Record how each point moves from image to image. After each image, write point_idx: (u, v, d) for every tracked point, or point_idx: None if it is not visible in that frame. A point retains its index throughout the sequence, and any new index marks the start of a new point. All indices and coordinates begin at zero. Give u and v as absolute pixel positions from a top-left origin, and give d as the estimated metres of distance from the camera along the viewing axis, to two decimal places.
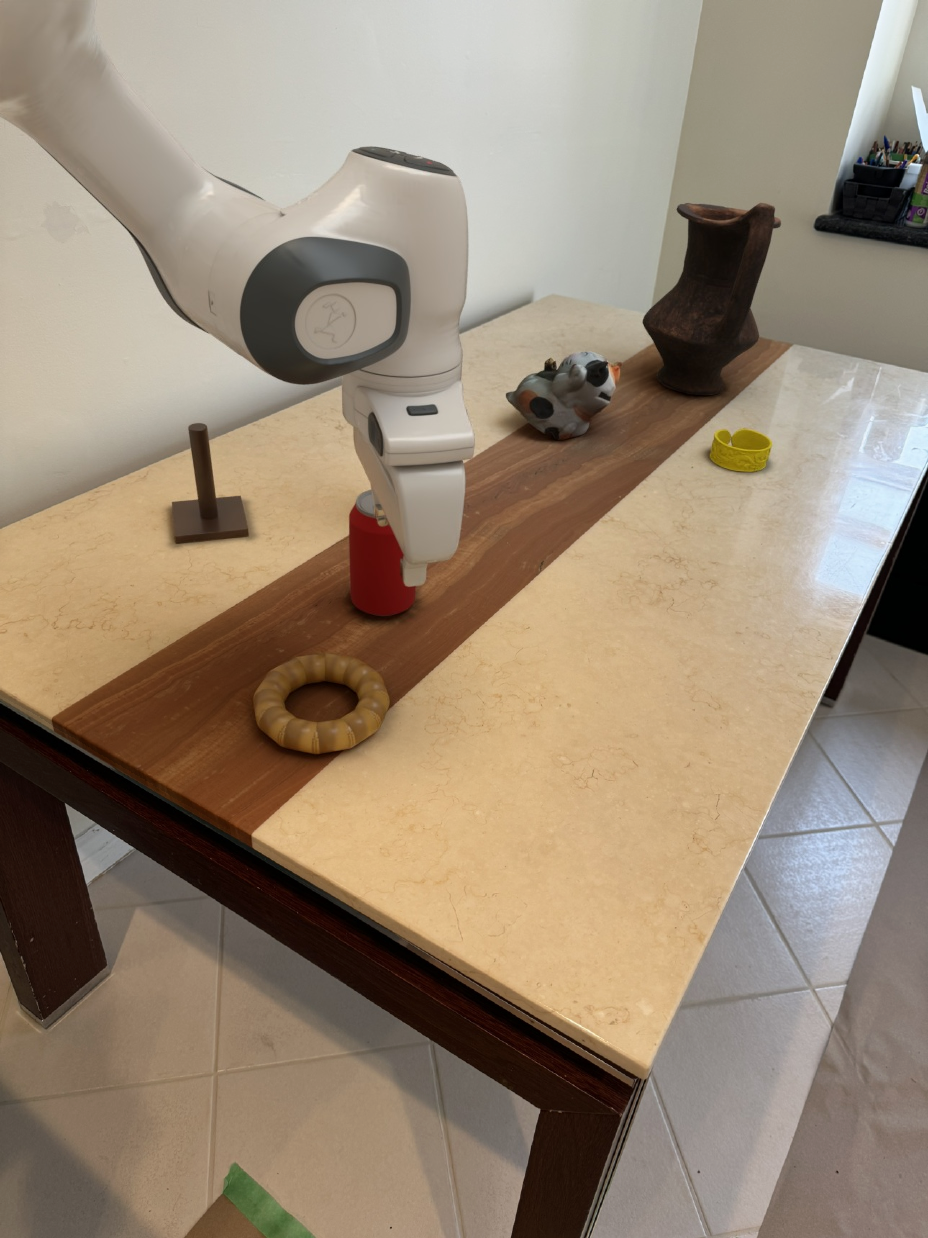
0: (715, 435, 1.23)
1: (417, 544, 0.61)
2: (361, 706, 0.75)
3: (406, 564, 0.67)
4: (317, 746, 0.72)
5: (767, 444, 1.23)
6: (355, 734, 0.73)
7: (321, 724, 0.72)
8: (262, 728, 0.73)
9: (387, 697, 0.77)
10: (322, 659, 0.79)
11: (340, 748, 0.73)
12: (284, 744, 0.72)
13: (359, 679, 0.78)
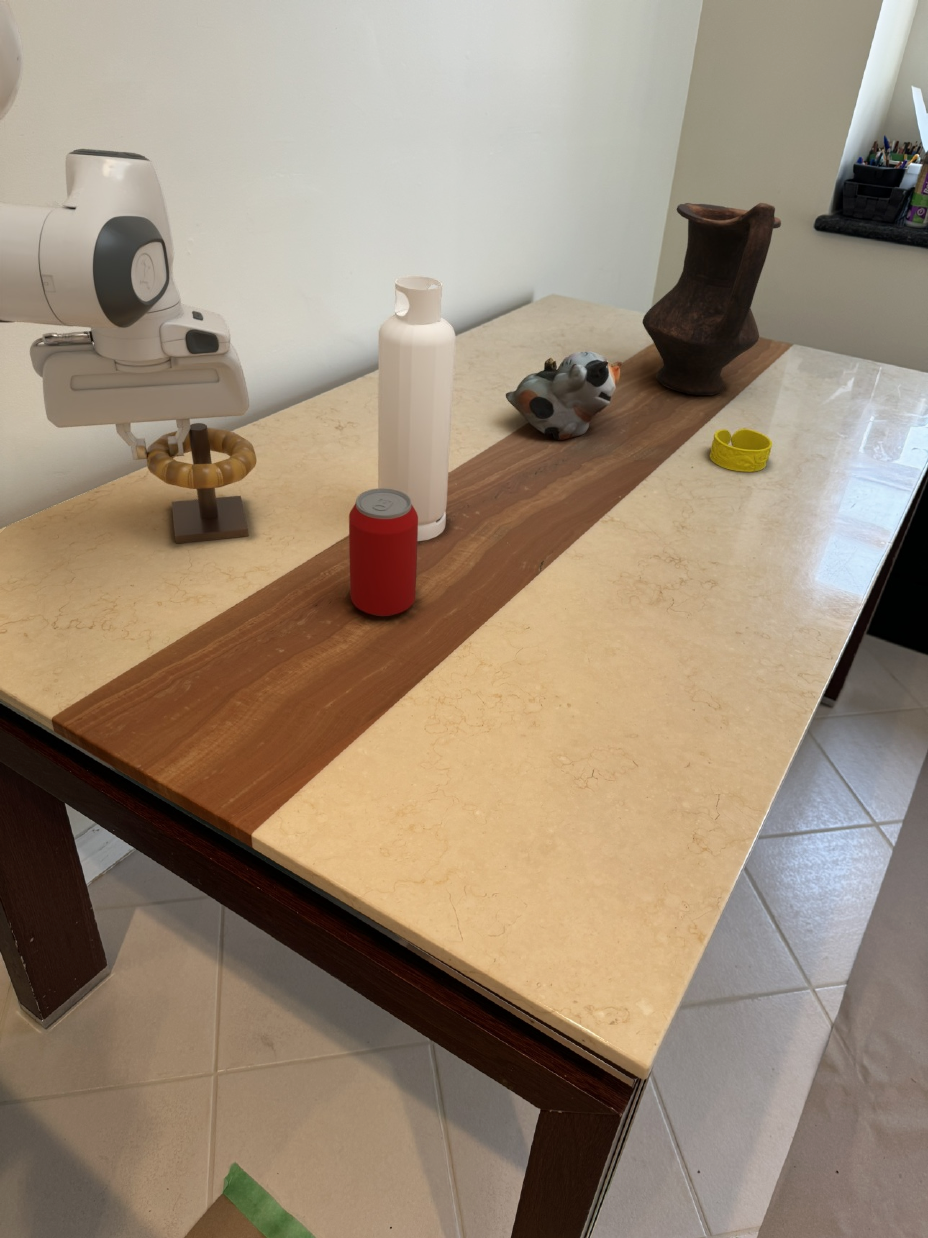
0: (715, 435, 1.23)
1: None
2: (231, 457, 0.95)
3: (186, 435, 0.94)
4: (192, 479, 0.92)
5: (767, 444, 1.23)
6: (222, 474, 0.93)
7: (196, 464, 0.93)
8: (151, 469, 0.94)
9: (254, 455, 0.97)
10: None
11: (211, 484, 0.93)
12: (166, 479, 0.93)
13: (233, 444, 0.98)
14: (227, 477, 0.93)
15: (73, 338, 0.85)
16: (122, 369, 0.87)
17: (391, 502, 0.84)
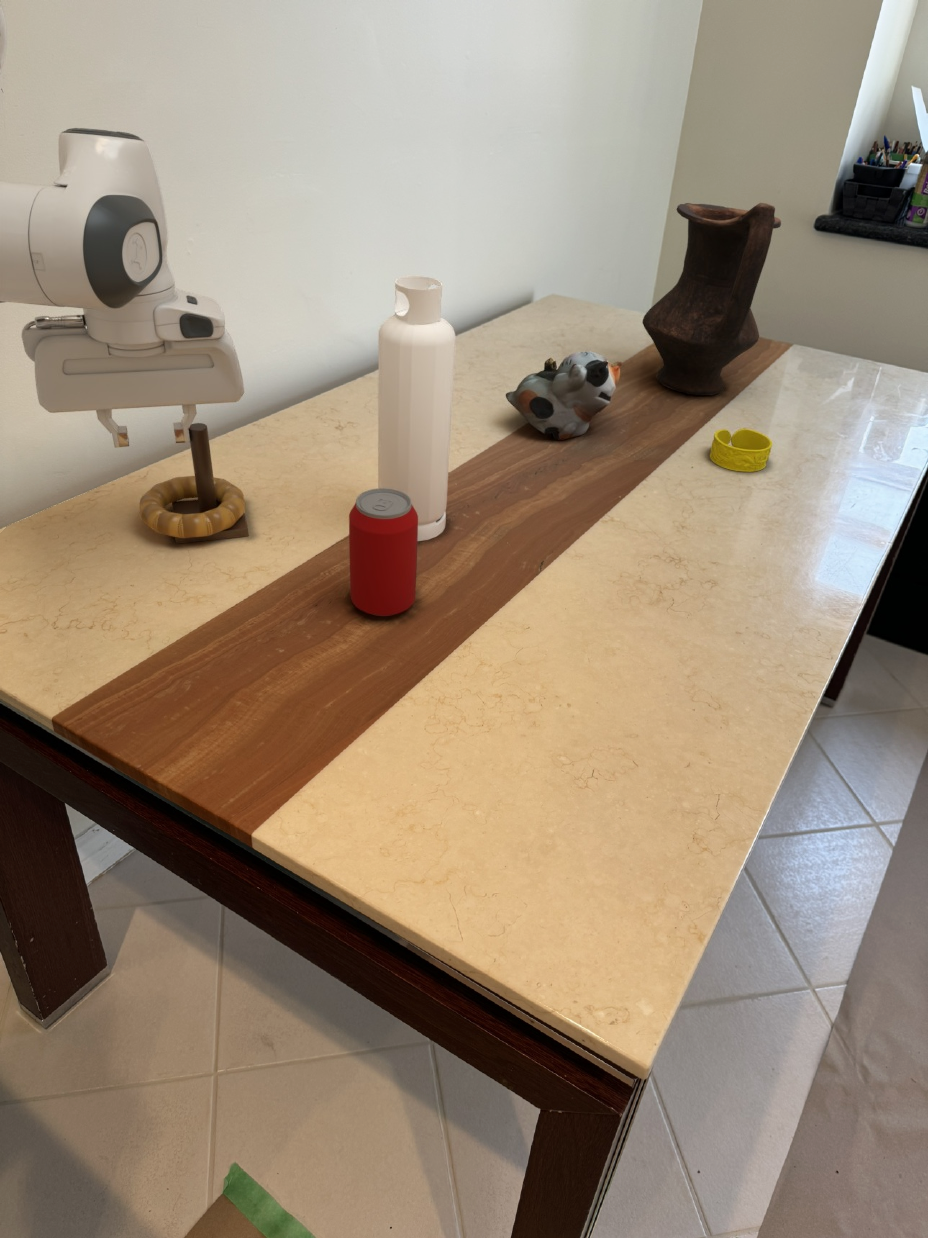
0: (715, 435, 1.23)
1: None
2: (220, 506, 0.98)
3: (192, 421, 0.93)
4: (182, 529, 0.95)
5: (767, 444, 1.23)
6: (211, 523, 0.96)
7: (186, 514, 0.96)
8: (143, 519, 0.97)
9: (242, 503, 1.00)
10: None
11: (200, 533, 0.96)
12: (158, 529, 0.96)
13: (223, 491, 1.01)
14: (216, 526, 0.97)
15: (66, 321, 0.84)
16: (115, 353, 0.86)
17: (391, 502, 0.84)
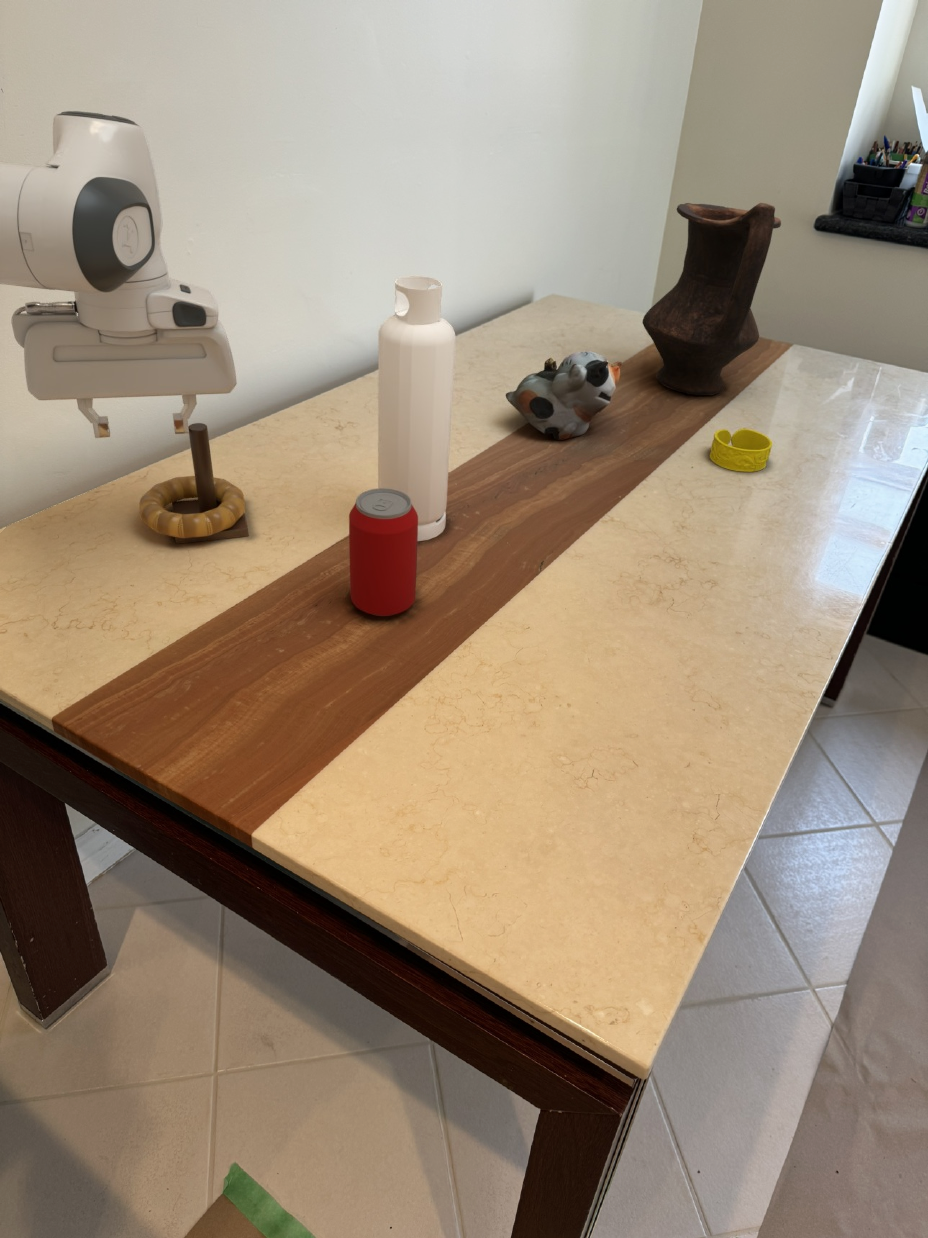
0: (715, 435, 1.23)
1: None
2: (220, 506, 0.98)
3: None
4: (182, 529, 0.95)
5: (767, 444, 1.23)
6: (211, 523, 0.96)
7: (186, 514, 0.96)
8: (143, 519, 0.97)
9: (242, 503, 1.00)
10: None
11: (200, 533, 0.96)
12: (158, 529, 0.96)
13: (223, 491, 1.01)
14: (216, 526, 0.97)
15: (57, 308, 0.83)
16: (106, 341, 0.85)
17: (391, 502, 0.84)
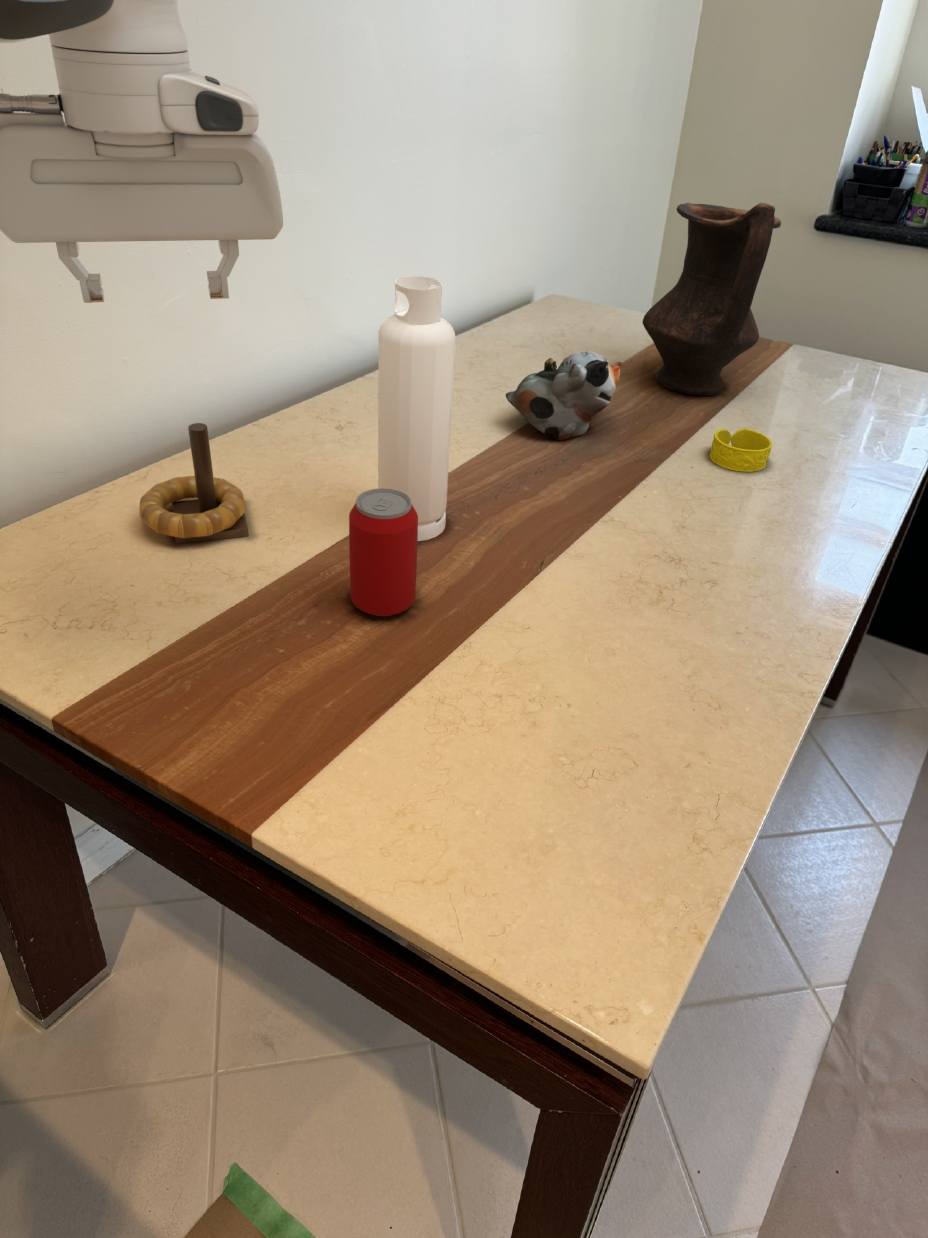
0: (715, 435, 1.23)
1: None
2: (220, 506, 0.98)
3: (232, 266, 0.69)
4: (182, 529, 0.95)
5: (767, 444, 1.23)
6: (211, 523, 0.96)
7: (186, 514, 0.96)
8: (143, 519, 0.97)
9: (242, 503, 1.00)
10: None
11: (200, 533, 0.96)
12: (158, 529, 0.96)
13: (223, 491, 1.01)
14: (216, 526, 0.97)
15: (34, 102, 0.59)
16: (105, 152, 0.60)
17: (391, 502, 0.84)
